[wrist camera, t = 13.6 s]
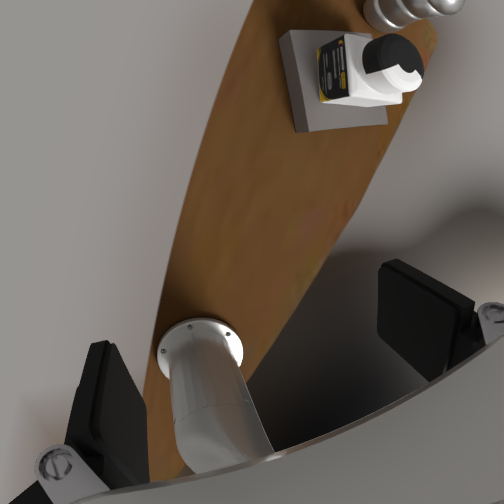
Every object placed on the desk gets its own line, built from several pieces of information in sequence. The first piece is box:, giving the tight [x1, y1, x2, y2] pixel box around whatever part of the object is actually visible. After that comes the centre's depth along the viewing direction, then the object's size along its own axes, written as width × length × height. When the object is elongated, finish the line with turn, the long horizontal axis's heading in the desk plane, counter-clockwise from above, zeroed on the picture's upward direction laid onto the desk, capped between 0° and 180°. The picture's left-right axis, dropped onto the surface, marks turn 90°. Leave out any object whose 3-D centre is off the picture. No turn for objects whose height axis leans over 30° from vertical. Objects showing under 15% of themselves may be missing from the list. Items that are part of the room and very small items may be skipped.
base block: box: [278, 30, 388, 133], centre depth 35 cm, size 13×12×4 cm
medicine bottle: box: [317, 34, 424, 107], centre depth 28 cm, size 7×7×12 cm
